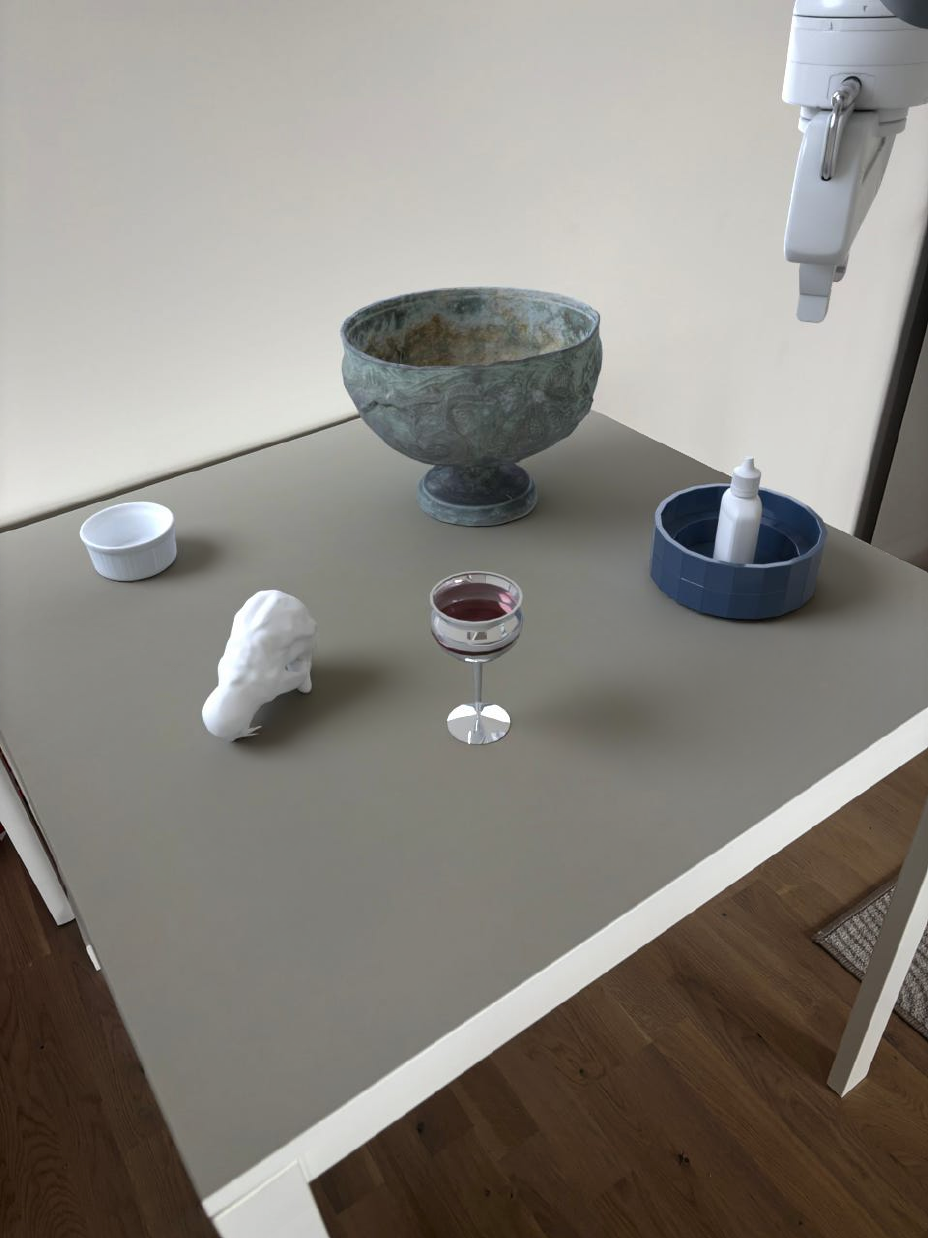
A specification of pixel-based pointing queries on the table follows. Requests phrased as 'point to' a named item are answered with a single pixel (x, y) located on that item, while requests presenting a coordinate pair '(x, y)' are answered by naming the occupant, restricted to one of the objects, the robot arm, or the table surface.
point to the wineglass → (476, 641)
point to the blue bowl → (731, 588)
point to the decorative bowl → (473, 388)
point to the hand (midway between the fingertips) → (821, 297)
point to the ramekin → (130, 540)
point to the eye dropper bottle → (739, 516)
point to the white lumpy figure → (261, 661)
